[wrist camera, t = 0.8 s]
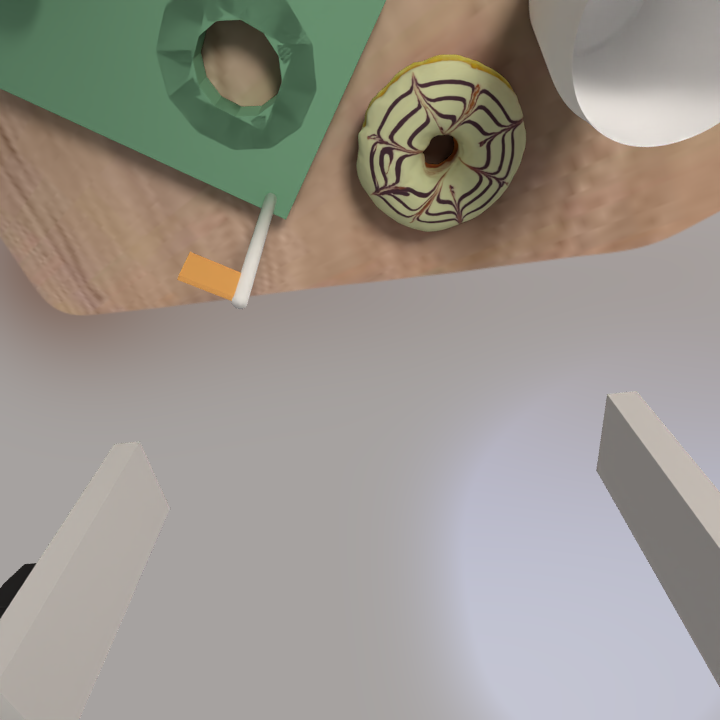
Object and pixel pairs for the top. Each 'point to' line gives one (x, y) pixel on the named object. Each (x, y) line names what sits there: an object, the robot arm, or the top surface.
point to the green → (191, 92)
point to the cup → (634, 65)
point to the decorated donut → (440, 117)
